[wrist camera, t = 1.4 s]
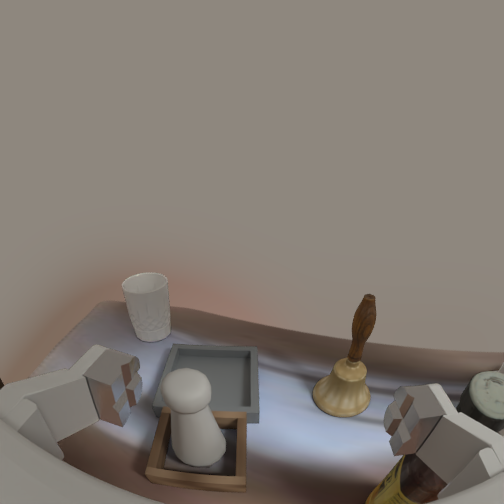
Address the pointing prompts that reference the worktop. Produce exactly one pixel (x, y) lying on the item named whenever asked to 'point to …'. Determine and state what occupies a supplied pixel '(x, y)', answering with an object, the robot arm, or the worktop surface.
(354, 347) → the hand bell
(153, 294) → the white cup
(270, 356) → the worktop surface
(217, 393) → the tray
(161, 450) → the collar
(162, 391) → the salt shaker
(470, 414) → the sauce bottle
